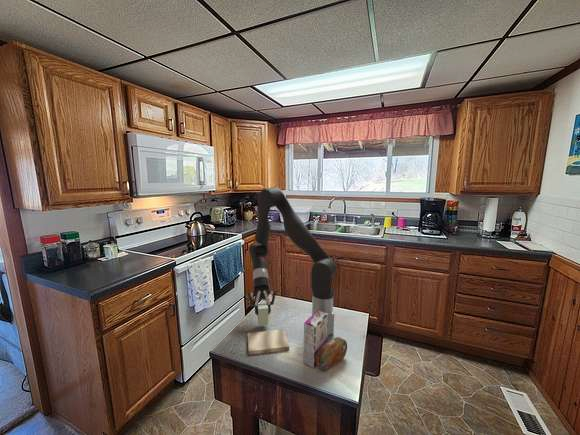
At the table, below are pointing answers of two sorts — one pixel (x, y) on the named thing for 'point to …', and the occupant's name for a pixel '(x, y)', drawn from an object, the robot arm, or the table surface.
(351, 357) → the table surface
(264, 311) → the sage block
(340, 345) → the tin
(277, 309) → the table surface
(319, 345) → the candy bar box
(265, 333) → the birch board
